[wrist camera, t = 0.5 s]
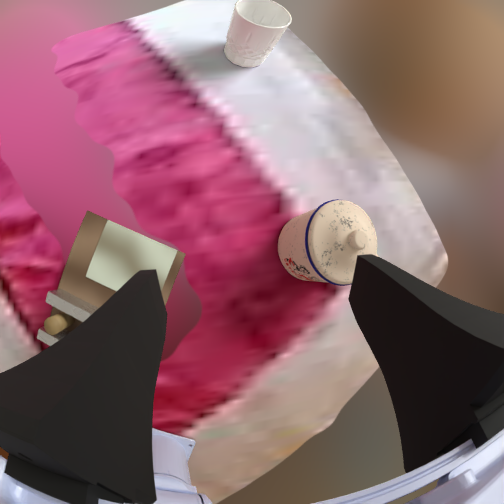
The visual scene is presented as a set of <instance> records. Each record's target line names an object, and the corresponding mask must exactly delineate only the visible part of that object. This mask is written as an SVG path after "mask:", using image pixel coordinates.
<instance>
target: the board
mask: <svg viewBox="0 0 504 504" xmlns="http://www.w3.org/2000/svg"><path fill="white" fill-rule="evenodd" d="M184 257H185V253H182V252H180V251H178V250H175V249H173V248H171V247H168V246H166V245H164V244H162V243H159V242H157V241H155V240H152V239H150V238H148V237H146V236H143V235H141V234H139V233H136V232H134V231H132V230H130V229H127V228H125V227H123V226H121V225H119V224H116V223H114V222H112V221H110V220H107V219H105V218H103V217H101V216H99V215H96V214H94V213H92V212H90V211H87V212H86V215H85V217H84V219H83V222H82V224H81V226H80V229H79V231H78V234H77V236H76V239H75V241H74V244H73V246H72V249H71V252H70V254H69V257H68V260H67V263H66V266H65V268H64V271H63V274H62V278H61V281H60V284H59V287H58V290H59V289H63V290H65V291H66V292H68V293H70V294H72V295H74V296H76V297H78V298H80V299H82V300H84V301H86V302H88V303H90V304H92V305H94V306H96V307H98V308H99V307H101V306H102V305H103V304H104V303H105V302H106V301H107V300H108V299H109V298H110V297H111V296H112V295H113V294H114V293H116V292H117V291H118V290H119V289H120V288H121V287H122V286H123V285H124V284H125V283H126V282H127V281H128V280H129V279H130V278H131V277H132V276H133V275H135V274H136V273H137V272H138V271H140V270H151V269H156V271H157V275H158V280H159V284H160V288H161V292H162V296H163V300H164V304H165V305H166V302H167V300H168V297H169V295H170V292H171V289H172V287H173V284H174V282H175V279H176V276H177V274H178V272H179V269H180V267H181V264H182V262H183V259H184ZM81 323H82V321H80V320H78V319H76V318H74V317H72V316H70V315H68V314H66V313H65V312H63V311H61V310H59V309H57V308H55V307H54V306H53V308H52V312H51V316H50V317H49V318H47V319H46V320H45V322H44V328H45V330H46V332H47V333H48V334H50V335H55V334H57V333H59V332H60V331H62V330H64V329H66V330H68V331H69V332H71V331H72V330H74V329H75V328H76V327H78V326H79V325H80V324H81Z"/></svg>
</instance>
